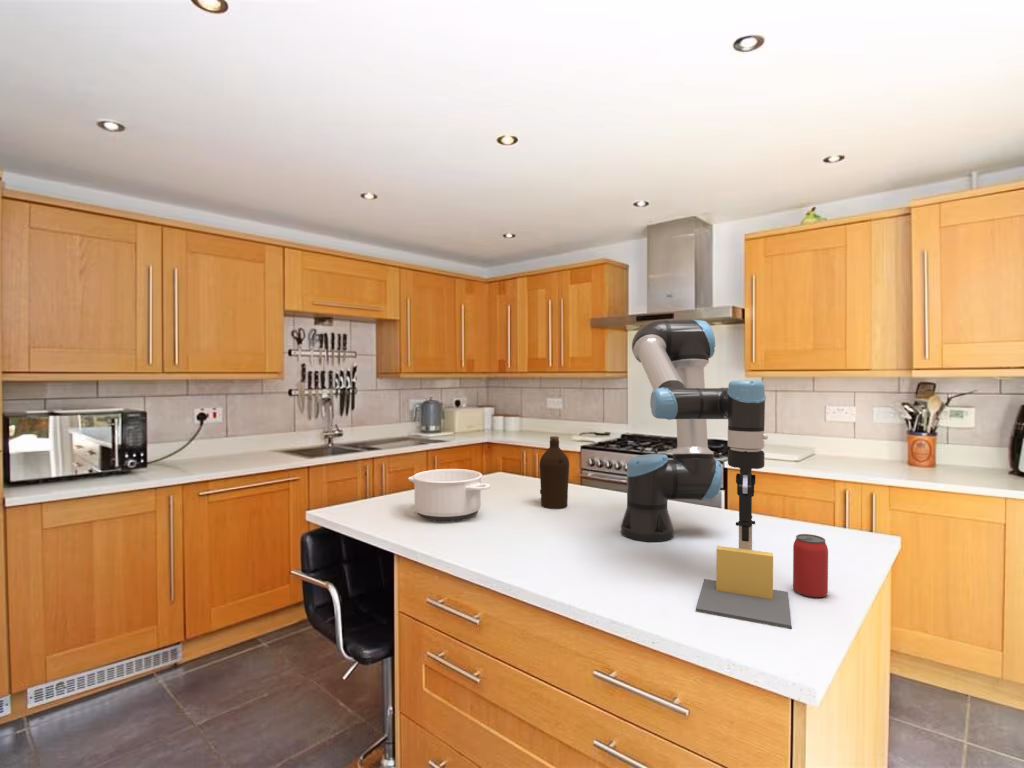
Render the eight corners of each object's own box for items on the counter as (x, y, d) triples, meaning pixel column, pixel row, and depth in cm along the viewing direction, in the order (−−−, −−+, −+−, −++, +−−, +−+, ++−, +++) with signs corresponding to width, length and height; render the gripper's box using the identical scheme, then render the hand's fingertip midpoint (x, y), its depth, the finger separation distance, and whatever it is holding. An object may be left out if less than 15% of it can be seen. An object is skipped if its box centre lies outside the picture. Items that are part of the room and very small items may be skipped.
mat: (695, 611, 106) (695, 608, 106) (704, 581, 121) (704, 578, 121) (791, 628, 99) (791, 625, 99) (787, 594, 114) (787, 591, 114)
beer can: (786, 586, 118) (787, 533, 118) (814, 585, 119) (815, 532, 118) (805, 599, 111) (805, 542, 111) (834, 598, 112) (835, 542, 112)
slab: (716, 590, 115) (716, 548, 115) (717, 586, 117) (717, 545, 117) (772, 599, 110) (773, 556, 110) (772, 595, 112) (772, 552, 112)
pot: (507, 514, 180) (507, 474, 179) (466, 531, 160) (466, 486, 160) (433, 501, 197) (433, 465, 197) (387, 515, 178) (387, 475, 177)
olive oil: (574, 505, 192) (574, 436, 191) (558, 511, 183) (558, 439, 183) (550, 500, 198) (550, 434, 198) (533, 506, 190) (533, 437, 190)
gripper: (764, 454, 111) (763, 566, 111) (764, 446, 123) (763, 547, 123) (726, 451, 114) (725, 560, 114) (729, 444, 126) (729, 543, 126)
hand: (745, 553), depth 119 cm, fingers closed
